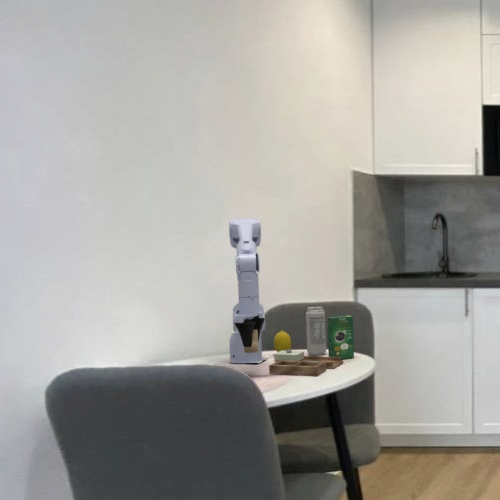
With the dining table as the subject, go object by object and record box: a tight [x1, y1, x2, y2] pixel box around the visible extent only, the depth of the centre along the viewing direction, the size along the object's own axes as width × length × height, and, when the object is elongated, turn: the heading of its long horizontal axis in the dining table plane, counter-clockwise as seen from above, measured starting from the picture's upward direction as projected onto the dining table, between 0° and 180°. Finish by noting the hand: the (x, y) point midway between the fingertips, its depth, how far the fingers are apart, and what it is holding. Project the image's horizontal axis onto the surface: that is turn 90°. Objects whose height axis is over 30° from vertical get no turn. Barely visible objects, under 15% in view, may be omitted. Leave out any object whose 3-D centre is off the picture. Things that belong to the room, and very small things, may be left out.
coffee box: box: [327, 315, 355, 360], centre depth 220 cm, size 8×3×13 cm, turn 118°
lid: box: [272, 349, 305, 362], centre depth 216 cm, size 7×7×3 cm
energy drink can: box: [305, 306, 327, 356], centre depth 230 cm, size 6×6×15 cm
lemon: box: [273, 330, 292, 353], centre depth 230 cm, size 6×6×8 cm
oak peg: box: [244, 329, 258, 353], centre depth 201 cm, size 4×4×6 cm
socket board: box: [268, 360, 327, 377], centre depth 203 cm, size 14×8×2 cm, turn 66°
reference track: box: [274, 355, 344, 370], centre depth 213 cm, size 18×9×2 cm, turn 66°
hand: (250, 345), depth 201 cm, fingers closed on oak peg, 4 cm apart
